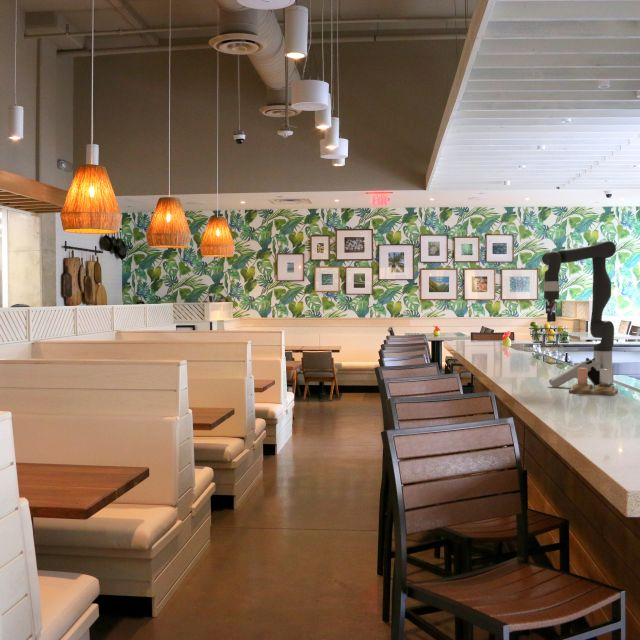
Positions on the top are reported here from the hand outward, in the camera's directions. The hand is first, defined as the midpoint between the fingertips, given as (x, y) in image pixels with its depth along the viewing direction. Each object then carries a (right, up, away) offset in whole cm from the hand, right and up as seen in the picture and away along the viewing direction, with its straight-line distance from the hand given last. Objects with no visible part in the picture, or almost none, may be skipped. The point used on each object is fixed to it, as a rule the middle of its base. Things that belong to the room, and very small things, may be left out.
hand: (551, 321), depth 381 cm
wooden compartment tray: (+10, -34, -31) cm, 47 cm away
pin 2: (+15, -32, -33) cm, 49 cm away
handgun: (+11, -34, -7) cm, 36 cm away
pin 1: (+6, -32, -28) cm, 43 cm away
